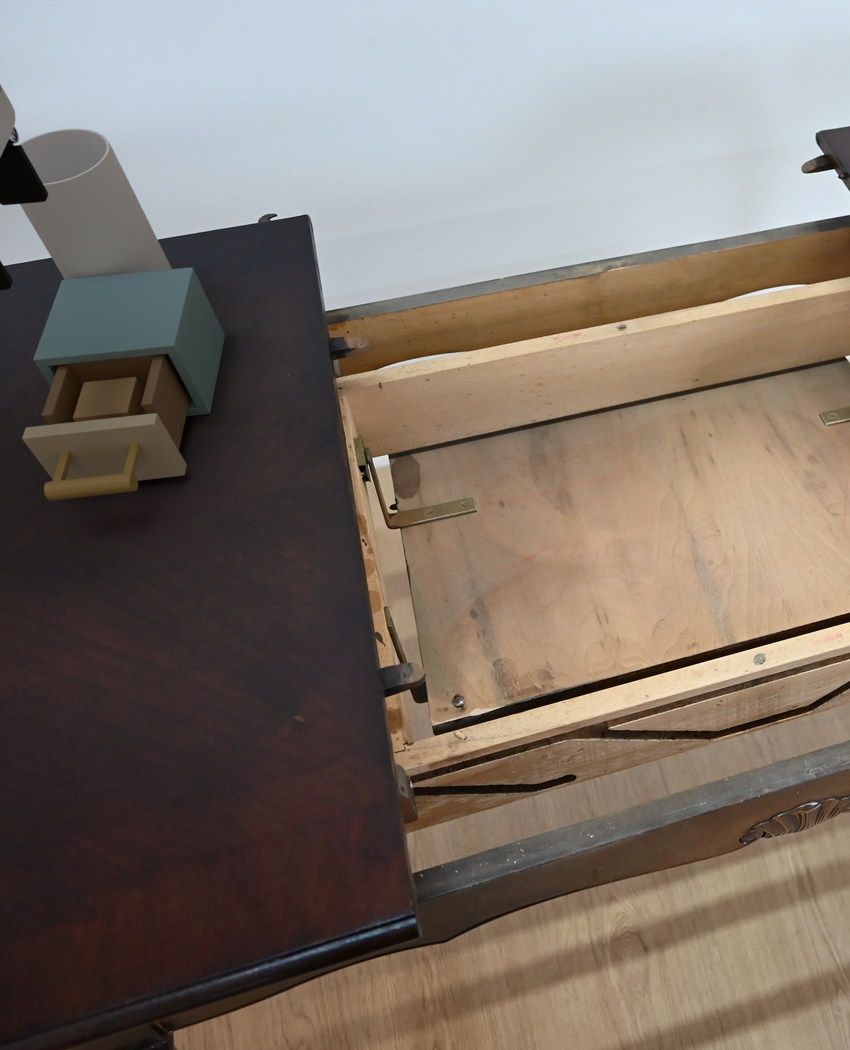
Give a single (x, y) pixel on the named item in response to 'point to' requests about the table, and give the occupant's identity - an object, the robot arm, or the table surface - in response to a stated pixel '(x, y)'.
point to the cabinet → (137, 327)
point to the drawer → (111, 430)
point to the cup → (89, 208)
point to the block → (109, 399)
